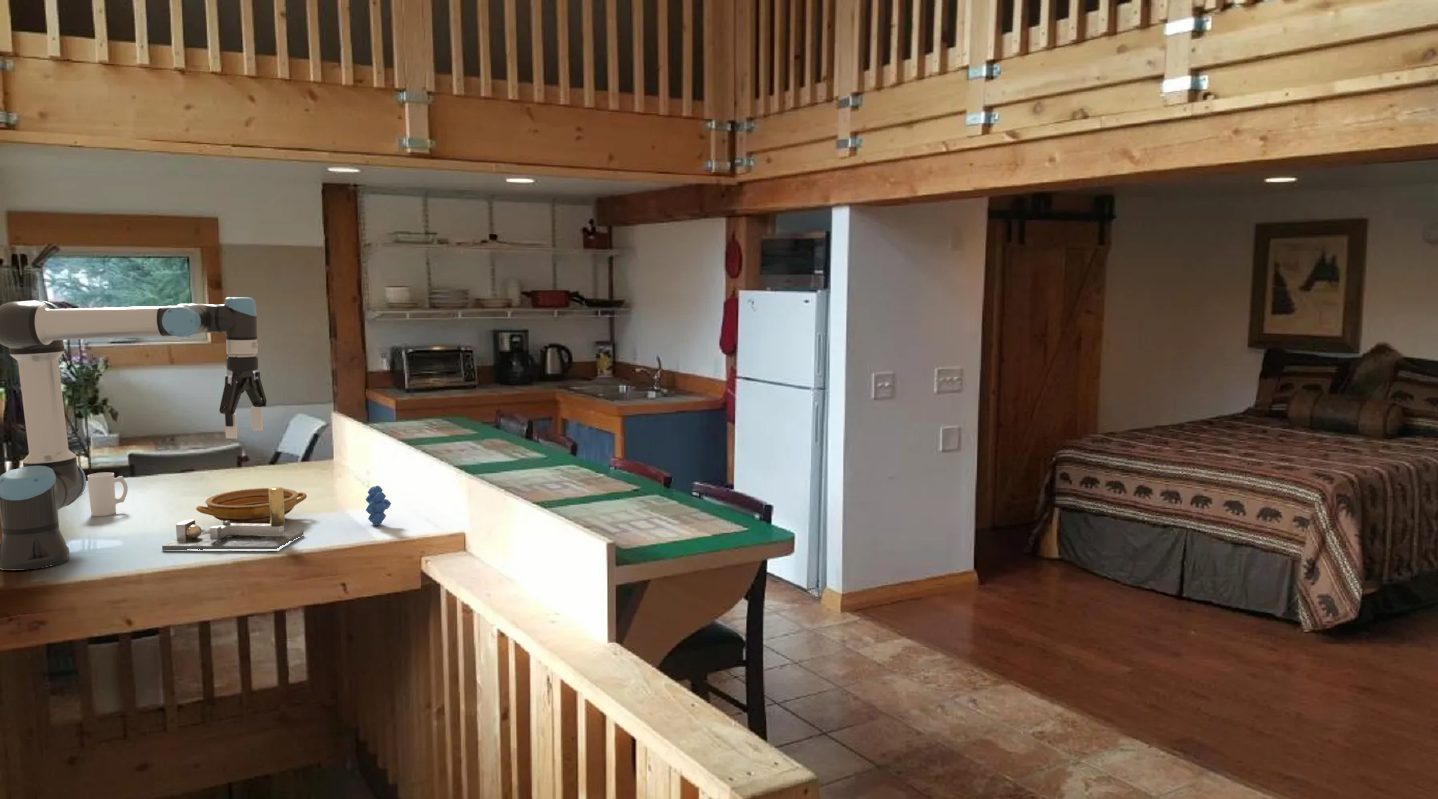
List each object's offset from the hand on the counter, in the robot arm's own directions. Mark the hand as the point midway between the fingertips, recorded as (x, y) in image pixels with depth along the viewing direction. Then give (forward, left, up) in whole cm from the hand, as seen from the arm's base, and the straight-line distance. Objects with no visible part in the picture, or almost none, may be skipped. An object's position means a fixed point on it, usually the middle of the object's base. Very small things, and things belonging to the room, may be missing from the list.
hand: (244, 434), depth 265 cm
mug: (+28, +56, -29) cm, 69 cm away
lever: (-5, -2, -27) cm, 27 cm away
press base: (-4, +2, -29) cm, 29 cm away
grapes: (+16, -30, -29) cm, 45 cm away
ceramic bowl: (+17, +7, -29) cm, 34 cm away
